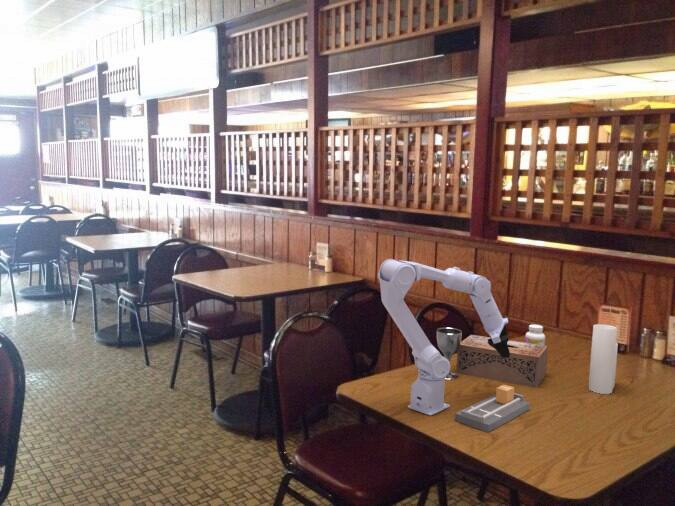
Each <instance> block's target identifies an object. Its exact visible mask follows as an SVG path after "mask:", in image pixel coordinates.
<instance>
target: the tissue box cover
mask: <svg viewBox="0 0 675 506" xmlns="http://www.w3.org/2000/svg"><path fill="white" fill-rule="evenodd" d="M490 338H491V336H489V337H488V336H483V335H476V334H470V335H469V336H467V337H466V338H464V339H463V340H461V344H460V347H459V349H458V350H457V351H456V352H457V354H456V355H457V356H456V357H457V358H456V374H461V375H466V376H471V377H478V378H482V379H488V380H493V381H498V382H503V383H509V384H516V385H521V386H525V387H531V388H537V389H538V387H539V386H540V384H541V383H542V381H543V380H544V378H545V377H546V375H547V364H548V351H549V350H548V345H545V346H543V345H537V344H530V343H525V342H523V341H516V340H509V339H508V340H509V341H508V342H507V344H508V348H509V352H510V356H509V357H506V358H503V357H502V356H501V355H500V354H499V353H498V351H497V350H496V349H495V348H493V347H492V346H490V345H489V344H488V339H490Z"/></svg>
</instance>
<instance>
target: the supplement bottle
mask: <svg viewBox="0 0 675 506" xmlns="http://www.w3.org/2000/svg"><path fill="white" fill-rule="evenodd" d="M528 330H529V331H527V332H526V333H525V336H524V338H525V339H524V343H530V344H537V345H543V346H546V345H545V343H546V335H545V334H544V333H543V330H544V326H542V325H540V324H530V325H528Z"/></svg>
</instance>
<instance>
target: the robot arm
mask: <svg viewBox="0 0 675 506" xmlns="http://www.w3.org/2000/svg"><path fill="white" fill-rule="evenodd" d="M377 278H378V281H379V287H380V297H381V298H380V300H381V302H382V305H383V306H384V308H385V309H386V311H387V312H388V314H389V315H390V317H391V318H392V320H393V322H394V323H395V325H396V326H397V328H398V329H399V331H400V333H402V336H403V337H404V339H405V340H406V342H407V343H408V345H409V346H410V348H411V349H412V351H411V355H412V356H413V358H414V365H415V366H416V368H417V369H418V371H417V372H418V376H417V379H416V380H415V381H414V382H412V384H411V386H410V400H409V401H410V404H409V405H407V408H408V409H411V410H413V411H416V412H419V413H422V414H425V415H428V416H433V415H435V414H437V413H439V412H443V411H444V410H446V409H448V408H450V406H451V405H450V404H449V403H448V404H447V403H445V385H446V383H445V380H446V379H445V378H446V376H447V375H448V374H449V372H451V361H450V362H449V361H448V359H446V357H445V356H443V355H442V354H441V353H440V351H439V350H438V349H437V348H436V347H435V346H434V345H433V344H432V343H431V341H430V340H429V338H428V337H427V335H426V334H425V332H424V330H423V329H422V327H421V326H420V324H419V322H418V321H417V319H416V318H415V317H414V316H415V315H413V313H412V311H411V310H410V308H409V307H408V304H407V303H406V302H405V300H404V298H405V297H406V295H407V293H408V291H410V288H411V287H412V286H413V284H414V282H418V281H420V279H421V278H422V279H423V278H424V279H427V280H433V281H436V282H441V283H442V286H443V287H444V288H446V289H448V290H453V291H456V292H457V291H458V292H461V293H465V294H468V295H469V297H470V299H471V302H472V304H473V307H474V308H475V311H476V313H477V314H478V316H479V318H480V321H481V323H482V324H483V329H484V330H485V332H486V333H487V334H488V336H489V337H490V339H488V344H489V345H490V346H492V347H493V348H495V349H496V350H497V351H498V353H499V354H500V355H501V356H502V357H503V358H506V357H509V356H510V352H509V348H508V344H507V342H508V341H509V336H508V331H507V324H508V323H509V318H508V317H506V316H503V315H502V314H501V312H500V310H499V307H498V305H497V303H496V301H495V299H494V297H493V294H492V291H491V289H492V283H491V280H488V279H487V277H485V276H483V275H479V274H475V273H474V272H473V271H470V270H469V271H464V270H461V268H460V267H459V266H458V267H457V266H453V267H448V268H446V269H445V270H443V269H439V268H437V267H436V268H435V267H432V266H429V265H425V264H421V263H420V262H419V263H418V262H415V261H407V260H402V259H399V260H396V259H393V258H388V259H385V260H384V261H383V262H382V263H381V265H380V267H379V270H378V273H377Z"/></svg>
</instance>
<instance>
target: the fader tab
mask: <svg viewBox="0 0 675 506" xmlns="http://www.w3.org/2000/svg"><path fill="white" fill-rule="evenodd" d="M514 393H515V387H514V386H510V385H507V384H502V385H500V386H497V387H496V393H495V394H496V402H499V403H502V404H507V403H509V402H511V401H513V400H514Z"/></svg>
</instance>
